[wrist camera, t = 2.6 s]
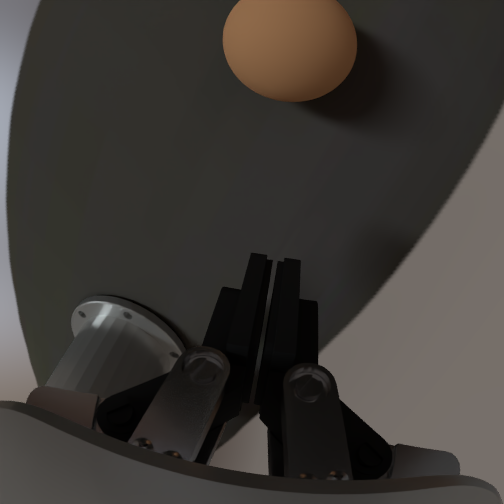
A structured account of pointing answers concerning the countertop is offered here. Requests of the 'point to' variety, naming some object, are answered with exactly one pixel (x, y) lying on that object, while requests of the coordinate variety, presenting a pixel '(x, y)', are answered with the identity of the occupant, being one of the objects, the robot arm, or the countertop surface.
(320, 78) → the ball
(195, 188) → the countertop surface
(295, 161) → the countertop surface
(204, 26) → the countertop surface
